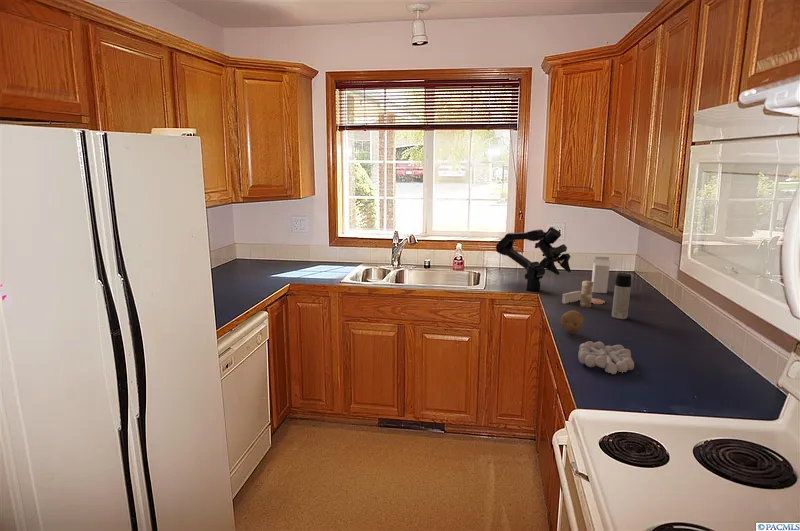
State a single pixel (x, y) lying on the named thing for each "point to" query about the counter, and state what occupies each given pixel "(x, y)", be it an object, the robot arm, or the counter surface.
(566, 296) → the off-white long flat block
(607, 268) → the milk carton
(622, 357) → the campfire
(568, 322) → the natural sponge
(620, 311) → the spray can
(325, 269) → the counter surface
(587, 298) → the ash post
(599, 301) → the terracotta coaster
